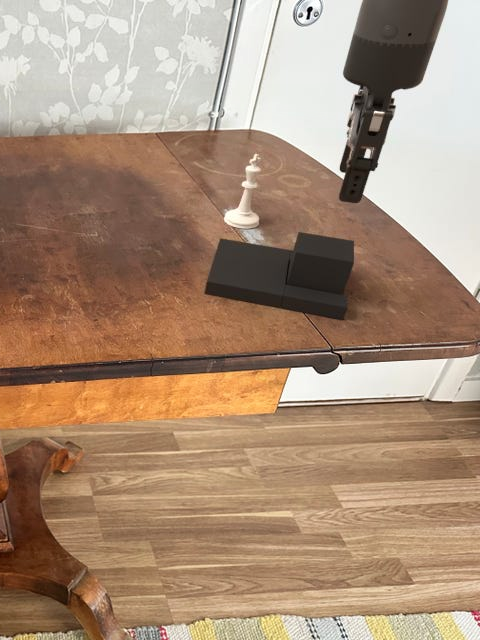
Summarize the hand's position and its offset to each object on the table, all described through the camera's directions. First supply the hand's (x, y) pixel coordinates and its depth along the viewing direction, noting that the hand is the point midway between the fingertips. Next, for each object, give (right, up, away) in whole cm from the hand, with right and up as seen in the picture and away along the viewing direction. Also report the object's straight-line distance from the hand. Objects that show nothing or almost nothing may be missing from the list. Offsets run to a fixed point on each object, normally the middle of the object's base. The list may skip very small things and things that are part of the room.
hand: (348, 186), depth 79 cm
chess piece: (-4, 0, +23) cm, 24 cm away
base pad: (-5, -10, +10) cm, 14 cm away
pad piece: (-1, -11, +8) cm, 14 cm away
